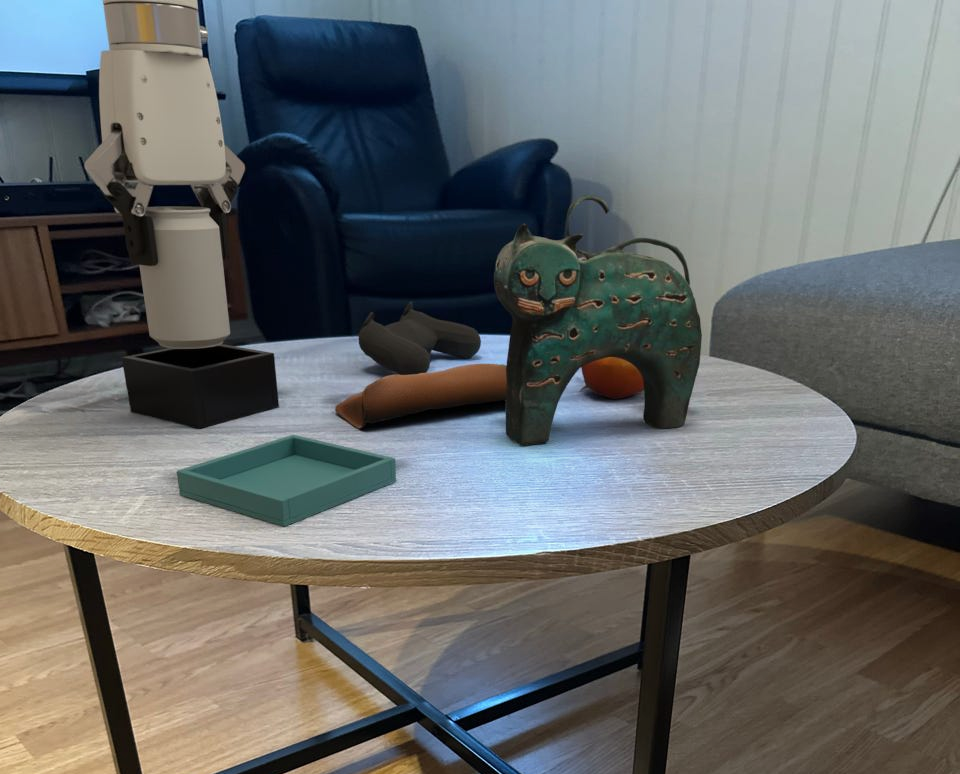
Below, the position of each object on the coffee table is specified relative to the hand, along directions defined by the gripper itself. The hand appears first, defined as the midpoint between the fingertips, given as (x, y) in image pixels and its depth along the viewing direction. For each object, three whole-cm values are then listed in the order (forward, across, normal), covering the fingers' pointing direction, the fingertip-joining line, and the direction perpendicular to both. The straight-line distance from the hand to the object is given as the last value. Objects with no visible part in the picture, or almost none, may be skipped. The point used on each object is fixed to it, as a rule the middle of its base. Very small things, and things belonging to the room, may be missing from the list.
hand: (181, 260), depth 86 cm
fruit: (+13, -31, +30) cm, 45 cm away
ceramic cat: (+14, -17, +35) cm, 41 cm away
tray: (+14, +11, +24) cm, 30 cm away
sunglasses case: (+14, -14, +18) cm, 27 cm away
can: (+8, 0, 0) cm, 8 cm away
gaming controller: (+14, -30, +4) cm, 33 cm away
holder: (+14, -1, 0) cm, 14 cm away
